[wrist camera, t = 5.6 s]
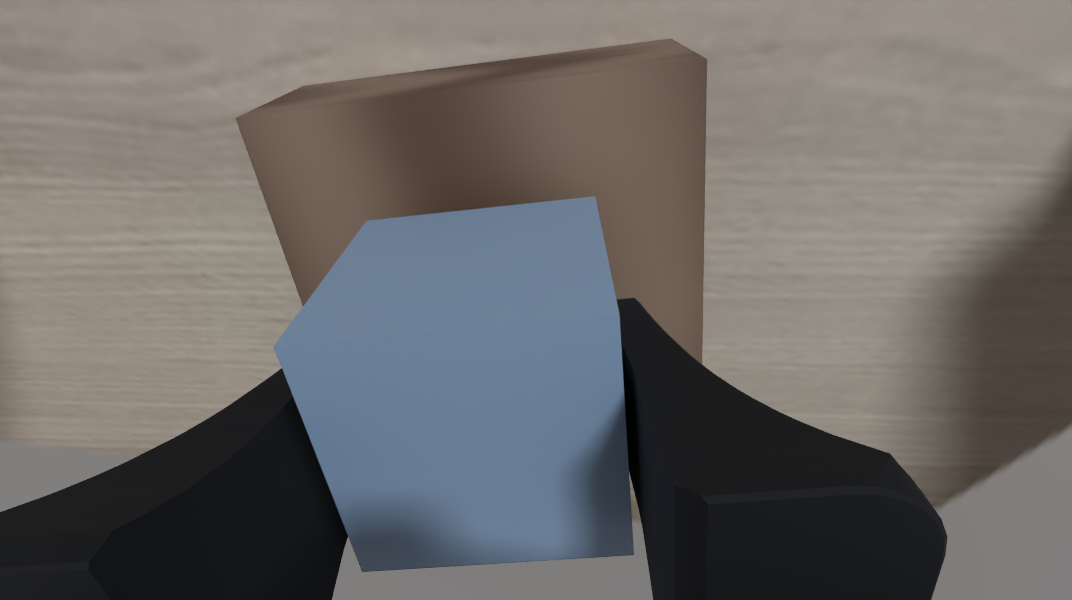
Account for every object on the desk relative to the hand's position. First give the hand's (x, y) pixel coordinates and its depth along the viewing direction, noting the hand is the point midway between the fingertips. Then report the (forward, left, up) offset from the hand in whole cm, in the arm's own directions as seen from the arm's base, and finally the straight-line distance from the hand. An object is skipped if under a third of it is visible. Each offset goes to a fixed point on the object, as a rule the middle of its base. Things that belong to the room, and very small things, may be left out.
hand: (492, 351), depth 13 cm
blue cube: (0, 0, -2) cm, 2 cm away
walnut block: (0, 0, -6) cm, 6 cm away
